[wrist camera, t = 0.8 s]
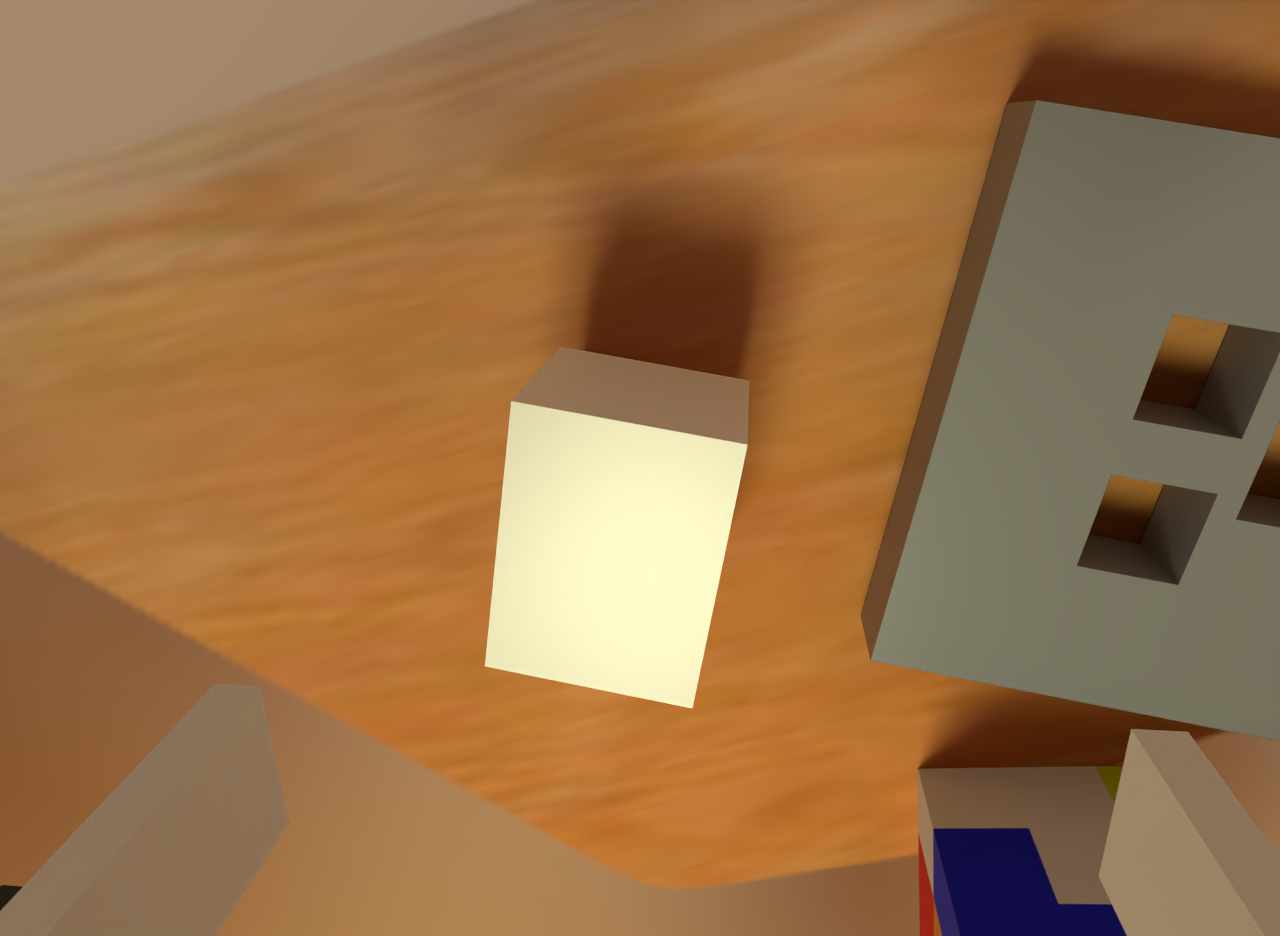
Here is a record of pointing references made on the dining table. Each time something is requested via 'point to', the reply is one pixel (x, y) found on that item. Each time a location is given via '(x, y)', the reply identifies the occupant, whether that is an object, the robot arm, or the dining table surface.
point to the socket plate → (1099, 430)
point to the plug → (615, 523)
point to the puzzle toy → (1015, 851)
